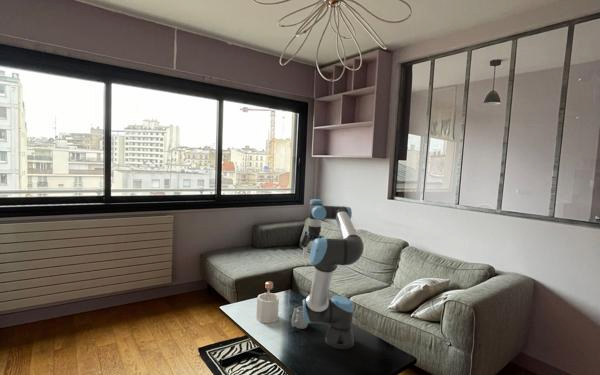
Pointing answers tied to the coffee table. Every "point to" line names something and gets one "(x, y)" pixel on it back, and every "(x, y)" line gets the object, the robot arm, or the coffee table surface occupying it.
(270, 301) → the octagonal white cup
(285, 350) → the coffee table surface
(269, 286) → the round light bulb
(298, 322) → the mug
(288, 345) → the coffee table surface
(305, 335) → the coffee table surface
